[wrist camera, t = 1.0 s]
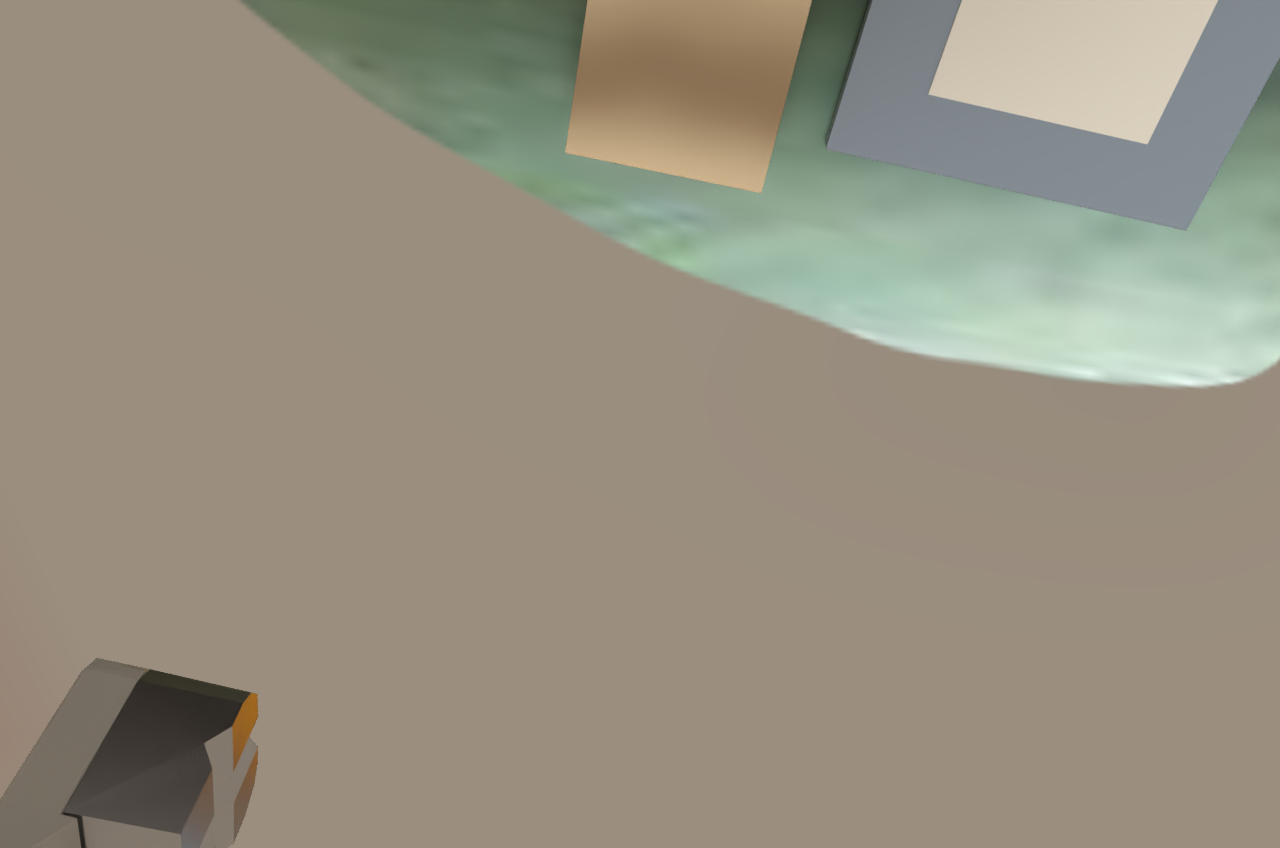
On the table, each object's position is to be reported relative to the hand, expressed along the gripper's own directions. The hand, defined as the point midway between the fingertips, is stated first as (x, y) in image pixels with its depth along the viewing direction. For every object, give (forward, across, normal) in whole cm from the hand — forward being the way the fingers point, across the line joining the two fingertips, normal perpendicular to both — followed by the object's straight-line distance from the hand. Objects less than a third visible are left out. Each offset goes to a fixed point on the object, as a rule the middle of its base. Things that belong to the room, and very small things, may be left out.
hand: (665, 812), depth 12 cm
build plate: (+30, -10, -1) cm, 31 cm away
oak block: (+30, +1, +2) cm, 30 cm away
